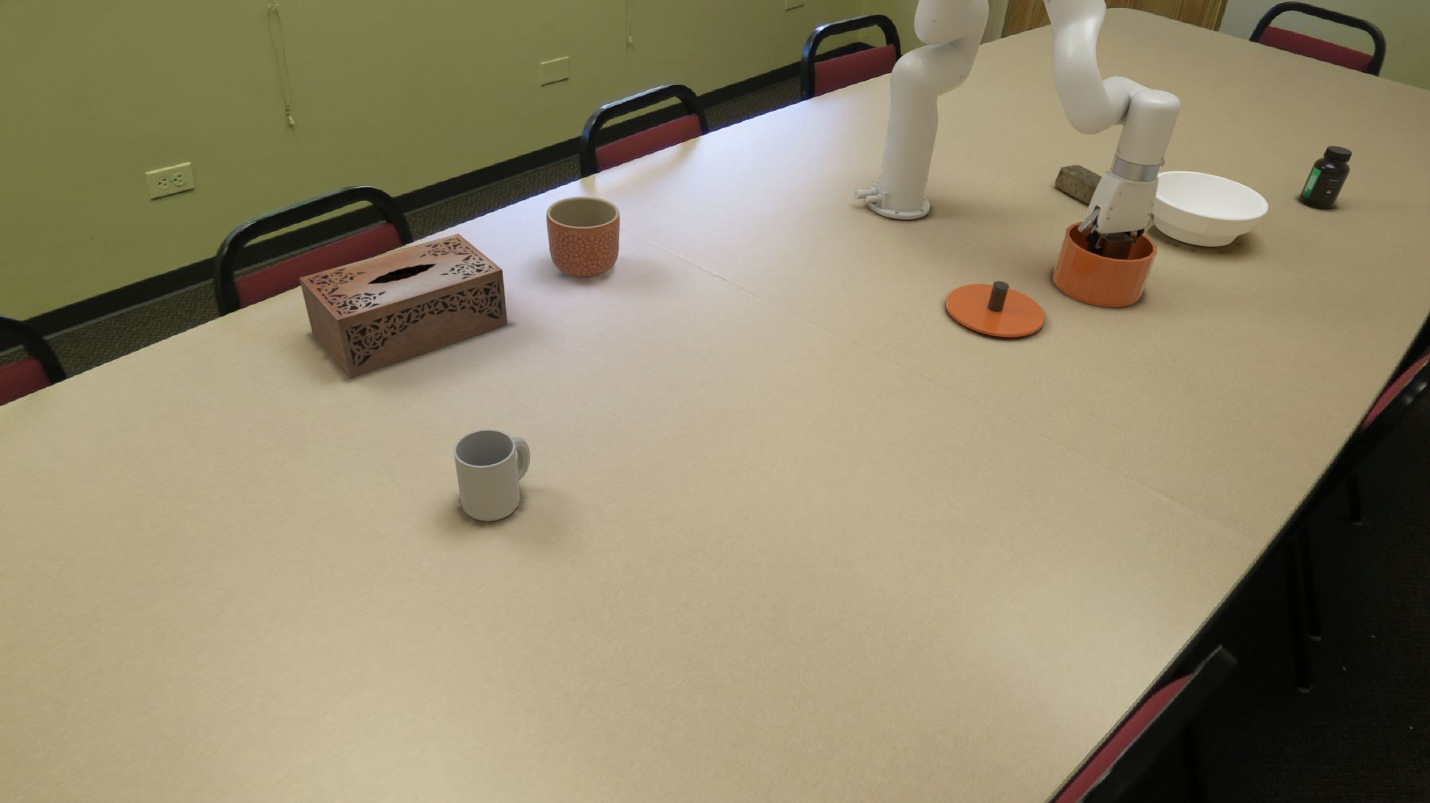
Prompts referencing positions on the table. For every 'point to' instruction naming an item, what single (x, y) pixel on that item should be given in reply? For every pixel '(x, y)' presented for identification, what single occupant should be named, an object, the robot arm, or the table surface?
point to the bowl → (1205, 208)
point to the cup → (490, 472)
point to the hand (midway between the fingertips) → (1103, 262)
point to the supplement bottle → (1326, 178)
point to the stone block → (1078, 182)
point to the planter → (583, 235)
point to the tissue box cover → (404, 303)
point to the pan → (1102, 271)
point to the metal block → (1116, 246)
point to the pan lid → (995, 310)
